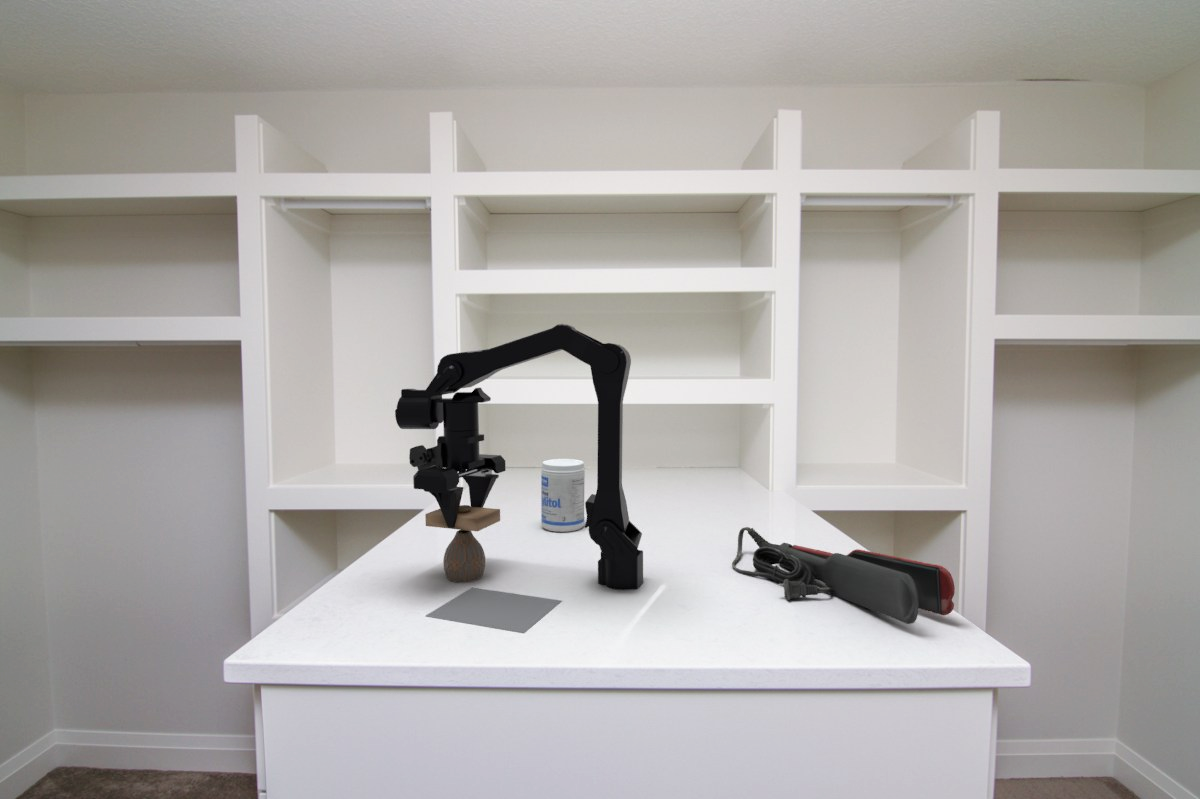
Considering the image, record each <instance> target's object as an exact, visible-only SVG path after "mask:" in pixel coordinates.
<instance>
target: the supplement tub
mask: <svg viewBox="0 0 1200 799" xmlns="http://www.w3.org/2000/svg"><path fill="white" fill-rule="evenodd" d="M541 464H542V465H541V479H540V480H541V484H540V485H541V486H540V487H541V488H540V489H541V492H540V493H541V497H540V499H541V505H540V506H541V509H540V510H541V512H540V513H541V516H540V517H541V519H540V520H541V522H540V523H541V526H542V528H543V529H545V530H546V531H551V532H559V533H567V532H574V531H578V530H580V529H582V528H583V527H584V526H585V477H586V476H585V475H586V474H585V469H586V468H585V462H584V461H583V460H580V459H573V458H553V459H547V460H544V461H543V462H542V463H541Z"/></svg>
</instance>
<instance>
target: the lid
mask: <svg viewBox="0 0 1200 799" xmlns="http://www.w3.org/2000/svg"><path fill="white" fill-rule="evenodd" d="M424 518H425V526H426V527H434V528H439V529H441V528H442V529H449V530H451V529H452V530H458V531H459V530H468V531H471V532H480V531H481V530H483V529H486V528H488V527H490V526H492V525H494V524H497V523H498V522H500V521H501V509H500V508H493V507H492V508H490V507H483V508H481V507H471V505H467V504H464V505H463V504H462V505H461V504H460V506H459V511H458V515H457V520H456V523H455V526H454V528H448V527H447V524H446V522H445V519H444V517H443V514H442V512H441V509H440V508H439V509H435V510H433V511H431V512H427V513H425V517H424Z"/></svg>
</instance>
